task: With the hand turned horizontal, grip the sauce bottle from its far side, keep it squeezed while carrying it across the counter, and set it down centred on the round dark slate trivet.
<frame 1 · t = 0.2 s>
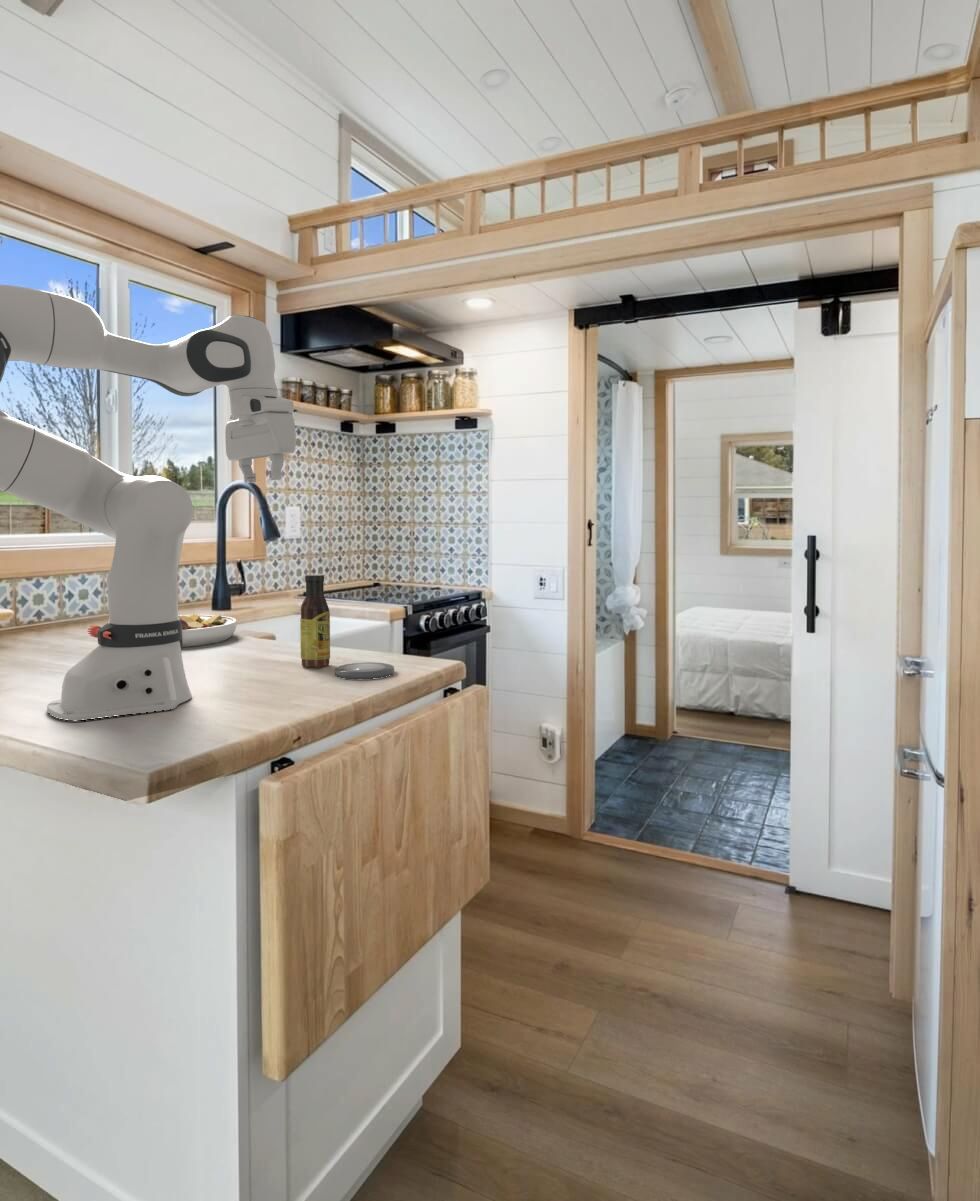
hand: (262, 481, 146), 39 cm above the countertop, tool pointing down, fingers open, 8 cm apart
slate trivet: (364, 673, 158), on the countertop
bowl: (176, 642, 199), on the countertop
sauce bottle: (316, 666, 166), on the countertop
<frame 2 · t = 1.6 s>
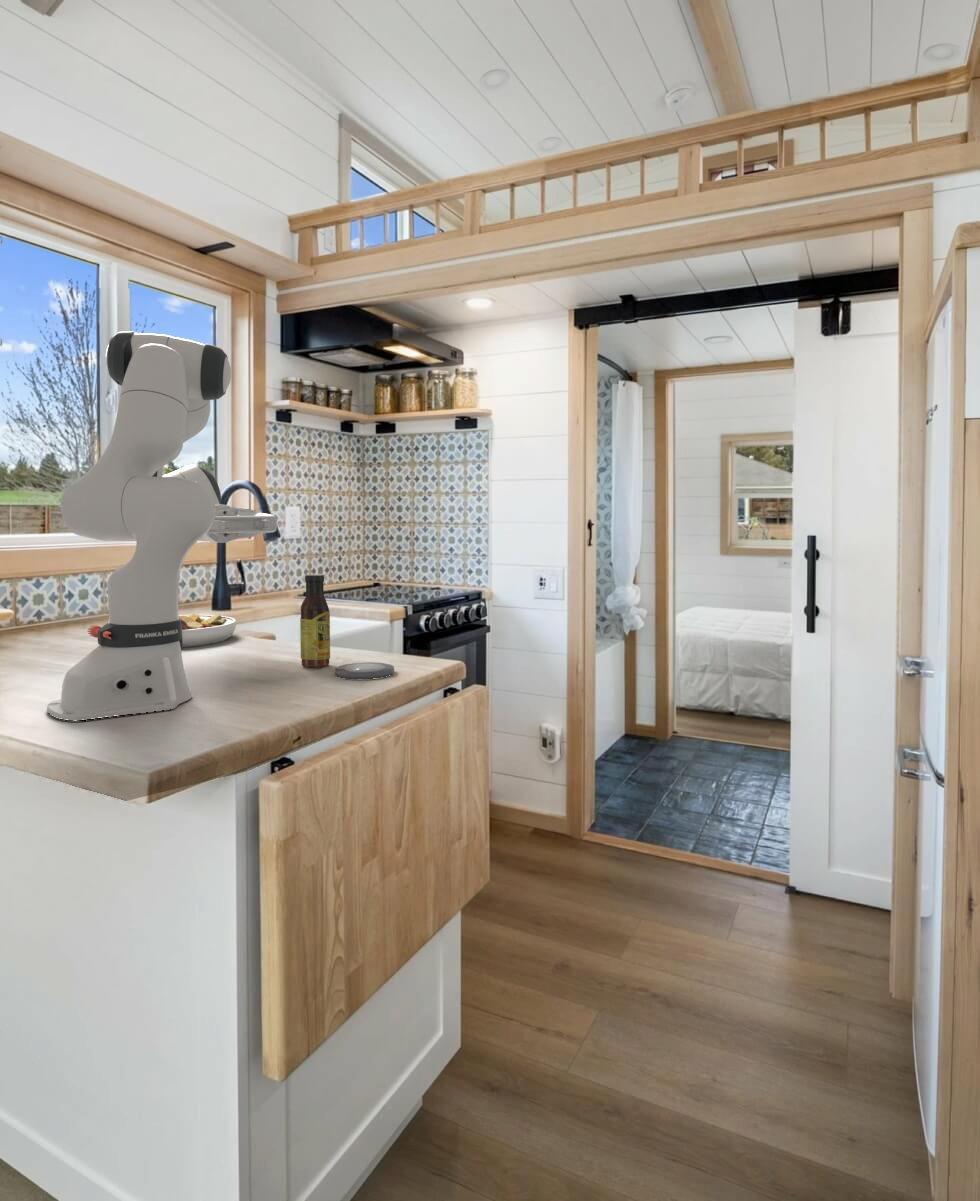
hand: (247, 524, 167), 30 cm above the countertop, tool horizontal, fingers open, 8 cm apart
nothing on the countertop moved.
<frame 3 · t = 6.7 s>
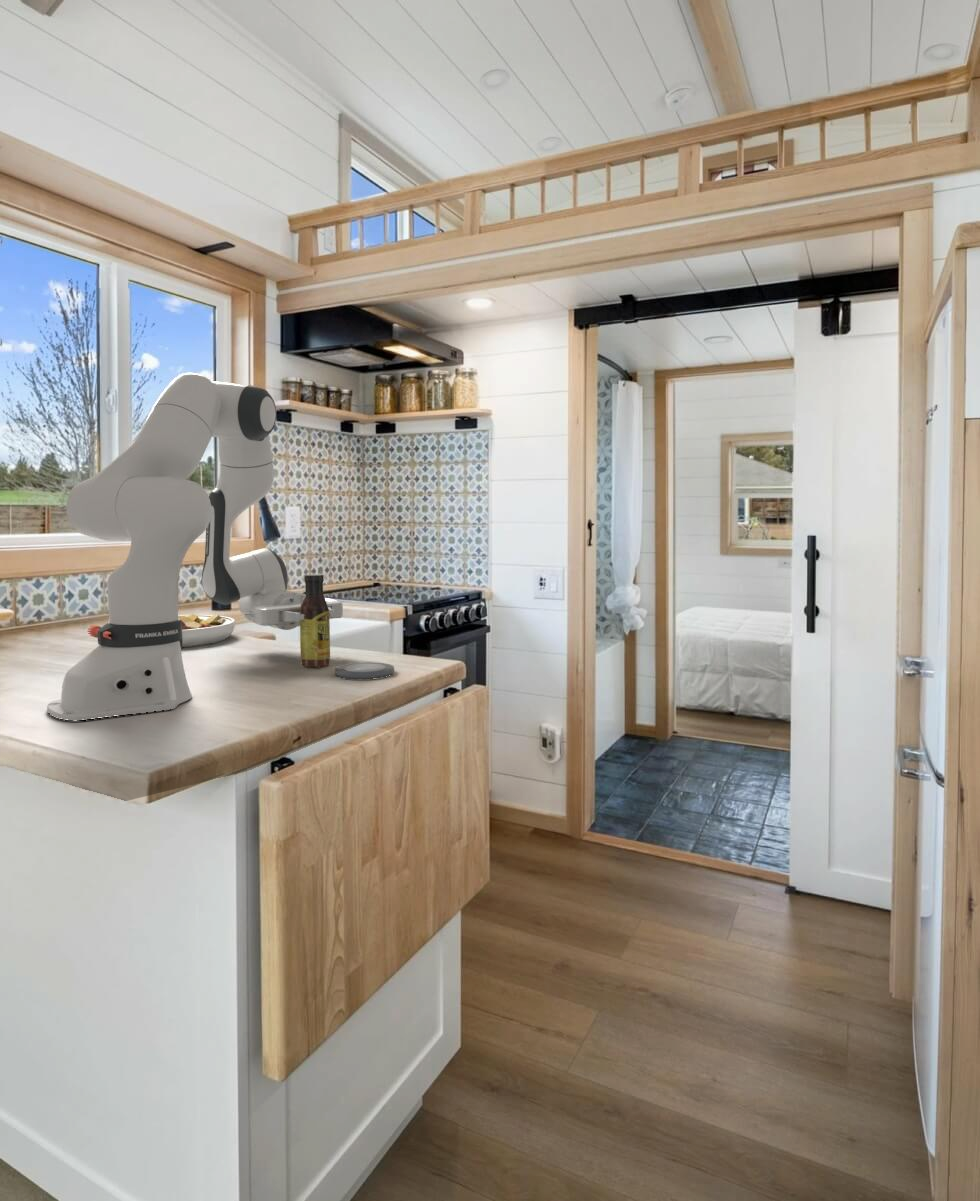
hand: (317, 615, 164), 11 cm above the countertop, tool horizontal, fingers closed on sauce bottle, 6 cm apart
sauce bottle: (316, 666, 166), on the countertop, touching gripper
everything else where it was.
when the fingers open (13 cm above the countertop, at t = 11.4 s): sauce bottle stays where it is, resting on slate trivet.
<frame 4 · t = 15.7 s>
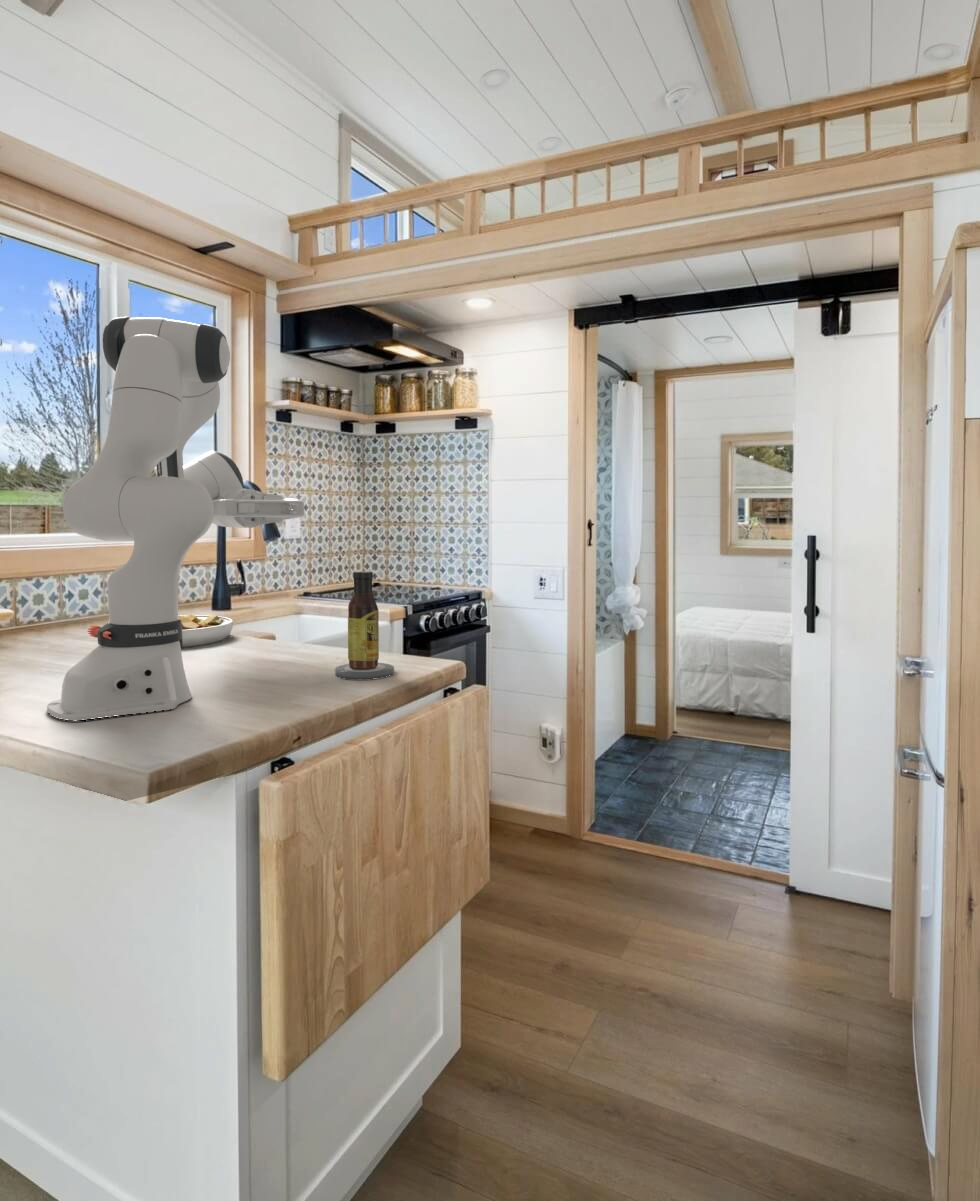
hand: (276, 508, 165), 34 cm above the countertop, tool horizontal, fingers open, 8 cm apart
sauce bottle: (363, 668, 158), point 1 cm above the countertop, touching slate trivet
everything else where it was.
at the end: sauce bottle 0.2 cm from the slate trivet (horizontally); sauce bottle tilted 0°; the gripper is holding nothing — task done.
